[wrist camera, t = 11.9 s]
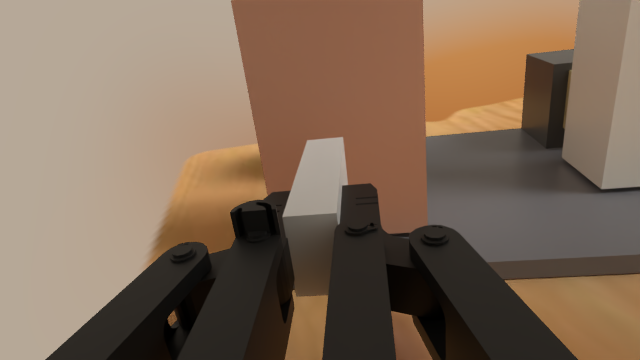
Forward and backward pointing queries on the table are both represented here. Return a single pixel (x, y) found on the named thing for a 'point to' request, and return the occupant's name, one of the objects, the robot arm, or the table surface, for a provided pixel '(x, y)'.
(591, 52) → the off-white key
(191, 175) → the table surface
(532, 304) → the table surface
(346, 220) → the robot arm
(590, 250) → the key console
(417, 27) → the terracotta key
